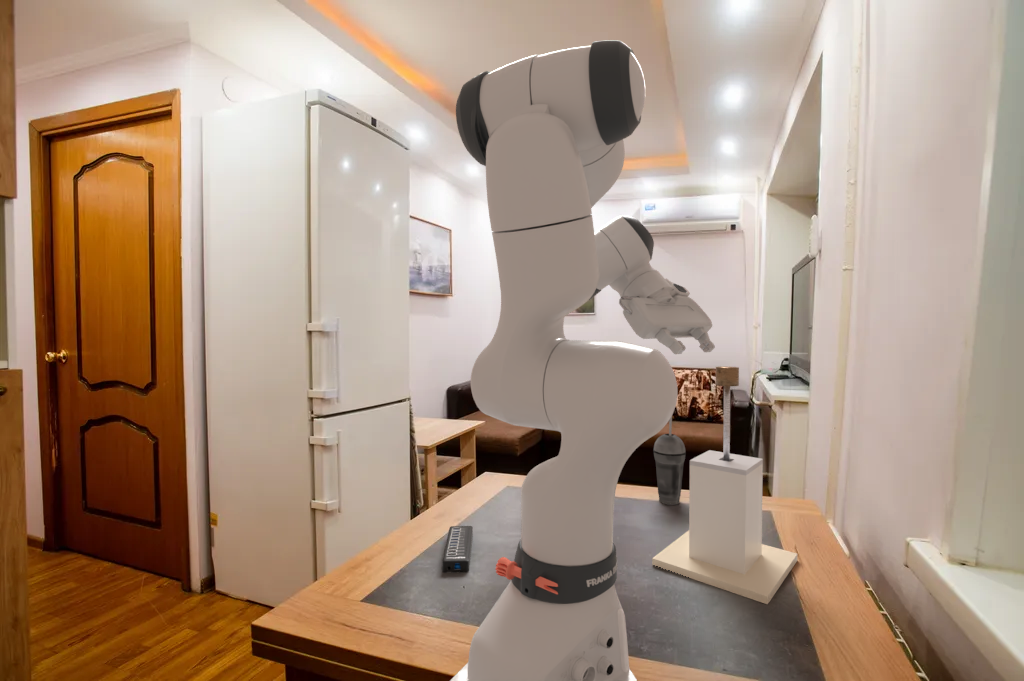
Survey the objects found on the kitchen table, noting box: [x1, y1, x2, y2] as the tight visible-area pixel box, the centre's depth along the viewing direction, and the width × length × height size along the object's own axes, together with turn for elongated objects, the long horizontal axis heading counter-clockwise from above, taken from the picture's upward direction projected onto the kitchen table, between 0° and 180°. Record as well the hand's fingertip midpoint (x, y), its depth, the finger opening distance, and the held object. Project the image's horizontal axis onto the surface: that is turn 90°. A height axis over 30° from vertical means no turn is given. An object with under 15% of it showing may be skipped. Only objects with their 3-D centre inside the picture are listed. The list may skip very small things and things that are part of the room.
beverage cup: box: [652, 415, 687, 506], centre depth 115 cm, size 7×7×20 cm
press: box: [651, 449, 799, 605], centre depth 85 cm, size 18×18×18 cm
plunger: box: [715, 365, 740, 462], centre depth 85 cm, size 7×7×18 cm
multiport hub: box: [441, 525, 474, 574], centre depth 90 cm, size 4×14×2 cm, turn 2°
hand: (696, 350), depth 89 cm, fingers open, 8 cm apart
